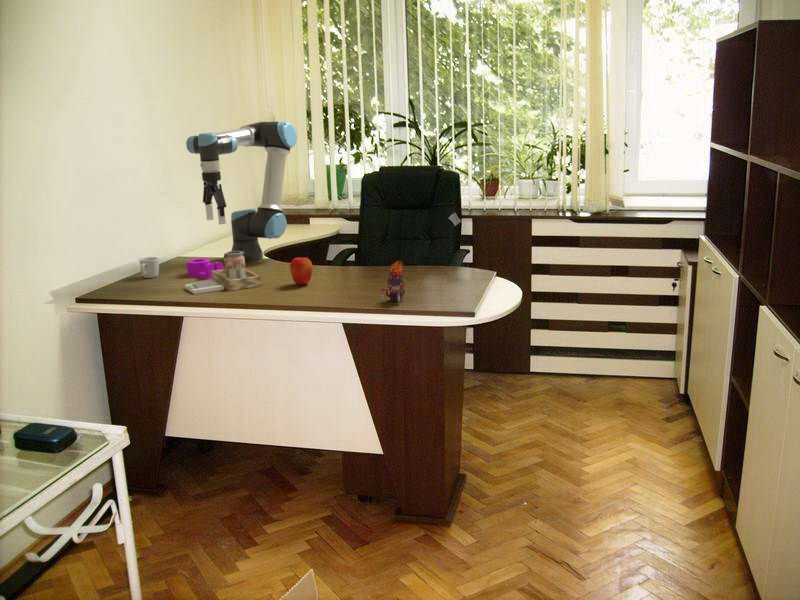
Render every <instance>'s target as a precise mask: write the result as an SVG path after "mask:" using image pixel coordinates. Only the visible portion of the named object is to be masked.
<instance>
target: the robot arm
mask: <svg viewBox="0 0 800 600" xmlns="http://www.w3.org/2000/svg"><path fill="white" fill-rule="evenodd" d="M297 136H298V135H297V132H296V129H295V127H294V125H293V124H292V123H291V122H288V121H282V120H281V121H260V122H259V121H257V122H254V123H250V124H245V125H242V126H240V127H239V128H238V129H231V130H225V131H219V132H201V133H199V134H198V135H191V136H189V137H188V138H187V139H186V142H185V145H186V146H185V147H186V150H187V151H188V152H189V153H190V154H196V155H198V154H199V158H200V164H199V166H200V169H201V171H202V172H201V179H202V181H203V193H202V194H203V195H202V203H204V206H205V214H206V215H205V216H206V220H207V221H212V220H214V218H215V217H214V210H213V202H212V199H213V198H214V201H215V203H216V206H217V207H216V209H217V218H218V225H226V224H227V223H226V221H227V220H226V214H225V208H227V203H226V200H225V195H224V192H223V188H222V183H219V181H221V180H222V176H221V175H222V174H221V171H220V170H221V164H220V157H219V156H221V155H228V154H233V153H235V152H236V151H237V150H238V147H247V148H249V147H259V148H260V147H261V148H264V150H265V152H266V153H267V155H266V163H265V171H264V181H263V187H262V196H261V204H260V205H258V207H257V209H256V208H247V209H241V210H240V209H239V210H235V211H233V212H231V214H230V217H231V218H230V224H231V232H232V245H231V246H232V247H231V250H230V251H242V252H244V255H243V256H244V258H245V262H253V261H258V260H262V259H263V258H264V252H263V250H262V248H261V245H260V243H259V238H260V239H261V238H262V239H269V240H272V239H280V238H281V237H282V236H283V235H284V233H285V232H286V230H287V229H286V228H287V226H288V225H287V223H288V221H287V220H286V219H287V218H286V216H285V215H284V211H283V209H282V208H281V203H282V202H281V200H282V194H283V193H282V192H283V185H284V176H285V167H286V160H287V156H288V155H289V154H290V153H291V148H294V147H295V145H297V144H296V143H297V140H298V139H297V138H298V137H297Z"/></svg>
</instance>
